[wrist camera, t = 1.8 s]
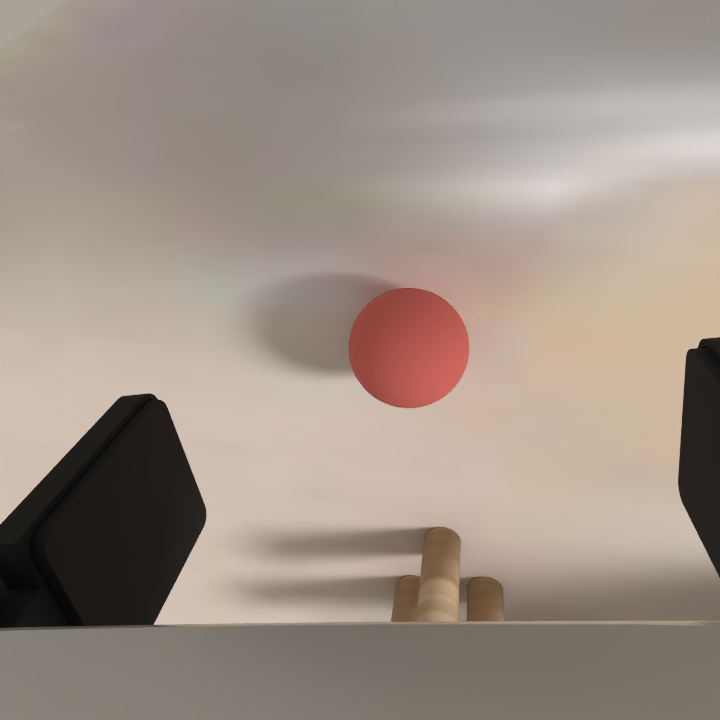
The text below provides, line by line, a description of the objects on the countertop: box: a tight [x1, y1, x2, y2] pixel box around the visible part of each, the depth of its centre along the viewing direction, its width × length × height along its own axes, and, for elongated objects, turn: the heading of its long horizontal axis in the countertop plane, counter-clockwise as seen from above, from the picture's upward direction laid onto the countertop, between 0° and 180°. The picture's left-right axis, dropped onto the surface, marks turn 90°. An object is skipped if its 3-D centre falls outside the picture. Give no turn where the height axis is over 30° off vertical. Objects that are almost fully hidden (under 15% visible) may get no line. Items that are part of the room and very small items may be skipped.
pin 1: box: [391, 576, 420, 622], centre depth 39 cm, size 2×2×8 cm
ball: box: [349, 288, 469, 408], centre depth 30 cm, size 6×6×6 cm
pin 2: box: [467, 577, 504, 621], centre depth 38 cm, size 2×2×8 cm
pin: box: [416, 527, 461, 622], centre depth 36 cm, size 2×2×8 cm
